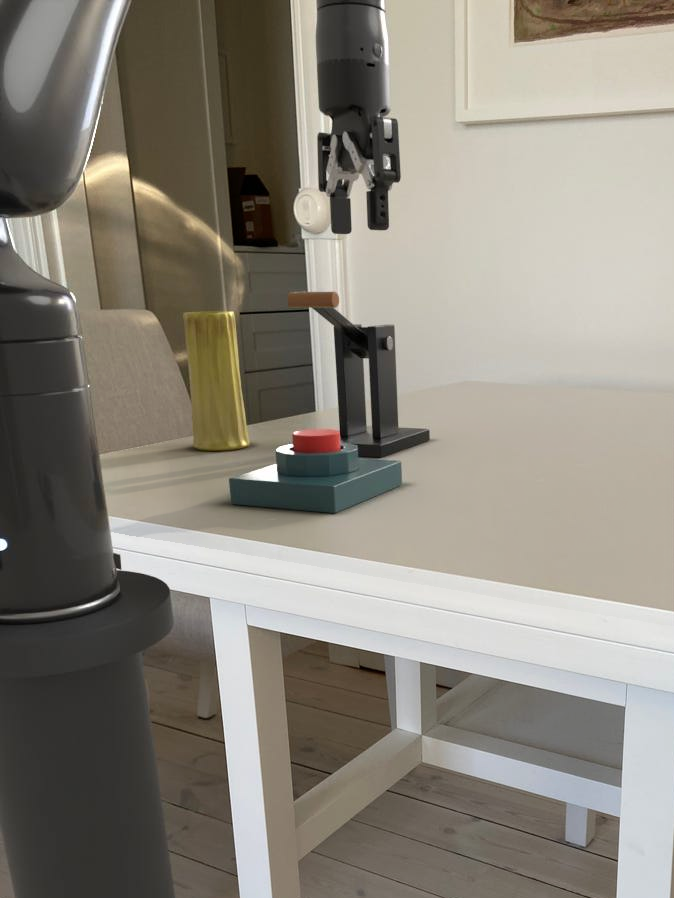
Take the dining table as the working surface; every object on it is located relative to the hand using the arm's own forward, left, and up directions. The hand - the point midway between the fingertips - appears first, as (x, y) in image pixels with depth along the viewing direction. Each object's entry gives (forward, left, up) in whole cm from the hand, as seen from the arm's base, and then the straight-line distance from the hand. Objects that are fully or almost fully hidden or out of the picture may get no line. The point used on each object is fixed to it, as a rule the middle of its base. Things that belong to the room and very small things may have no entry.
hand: (359, 232), depth 108 cm
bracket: (-3, -6, -22) cm, 23 cm away
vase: (-17, +3, -22) cm, 28 cm away
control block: (-17, -27, -22) cm, 39 cm away
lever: (-7, -9, -10) cm, 15 cm away
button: (-17, -27, -19) cm, 37 cm away
